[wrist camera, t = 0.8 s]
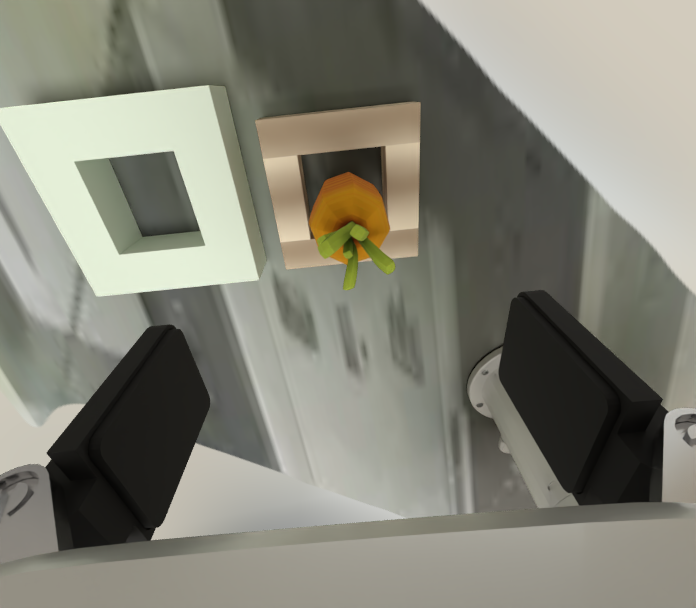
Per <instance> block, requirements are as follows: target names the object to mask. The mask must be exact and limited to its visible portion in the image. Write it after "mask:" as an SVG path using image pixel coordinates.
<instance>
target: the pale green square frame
mask: <svg viewBox="0 0 696 608" xmlns="http://www.w3.org/2000/svg"><path fill="white" fill-rule="evenodd" d="M0 125H1V127H2V129H3V130H4V132H5V134H6V136H7V137H8V139H9V141H10V143H11V145H12V146H13V148H14V150H15V152H16V153H17V155H18V157H19V159H20V161H21V162H22V164H23V166H24V168H25V169H26V171H27V173H28V175H29V177H30V178H31V180H32V182H33V184H34V186H35V187H36V189H37V191H38V193H39V194H40V196H41V198H42V200H43V202H44V203H45V205H46V207H47V209H48V210H49V212H50V214H51V216H52V218H53V219H54V221H55V223H56V225H57V227H58V228H59V230H60V232H61V234H62V235H63V237H64V239H65V241H66V243H67V244H68V246H69V248H70V250H71V251H72V253H73V255H74V257H75V259H76V260H77V262H78V264H79V266H80V268H81V269H82V271H83V273H84V275H85V276H86V278H87V280H88V282H89V284H90V285H91V287H92V289H93V291H94V292H95V294H96V296H97V297H99V296H109V295H118V294H128V293H138V292H148V291H157V290H167V289H177V288H186V287H196V286H206V285H216V284H225V283H235V282H245V281H255V280H259V279H260V277H261V274H262V271H263V269H264V266H265V264H266V261H267V260H266V255H265V251H264V247H263V243H262V239H261V234H260V230H259V226H258V222H257V218H256V214H255V209H254V205H253V201H252V197H251V193H250V188H249V184H248V180H247V176H246V172H245V168H244V163H243V159H242V155H241V151H240V147H239V142H238V138H237V134H236V130H235V126H234V121H233V117H232V113H231V109H230V105H229V101H228V96H227V92H226V88H225V86H213V85H206V86H197V87H188V88H178V89H169V90H160V91H151V92H142V93H133V94H124V95H115V96H106V97H97V98H88V99H78V100H69V101H60V102H51V103H42V104H33V105H24V106H15V107H6V108H0ZM168 151H174V153H175V156H176V159H177V162H178V165H179V168H180V171H181V174H182V177H183V180H184V183H185V186H186V189H187V192H188V195H189V198H190V201H191V204H192V207H193V210H194V213H195V216H196V219H197V222H198V225H199V228H200V231H194V232H185V233H175V234H166V235H156V236H147V237H142V235H141V232H140V230H139V228H138V225H137V223H136V221H135V218H134V216H133V214H132V212H131V209H130V207H129V205H128V202H127V200H126V198H125V195H124V193H123V191H122V188H121V186H120V184H119V181H118V179H117V177H116V174H115V172H114V170H113V168H112V165H111V163H110V161H109V158H112V157H121V156H130V155H140V154H149V153H158V152H168Z"/></svg>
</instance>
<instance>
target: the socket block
mask: <svg viewBox="0 0 696 608" xmlns="http://www.w3.org/2000/svg"><path fill="white" fill-rule="evenodd" d="M420 107H421V102H403V103H394V104H385V105H376V106H366V107H357V108H348V109H339V110H329V111H320V112H311V113H302V114H293V115H283V116H274V117H265V118H260V119H258V120H255V123H256V127H257V132H258V137H259V142H260V147H261V151H262V156H263V161H264V166H265V171H266V175H267V180H268V185H269V190H270V194H271V199H272V204H273V209H274V214H275V218H276V223H277V228H278V233H279V237H280V242H281V247H282V252H283V257H284V261H285V266H286V269H296V268H306V267H315V266H325V265H335V264H344V263H342V262H339V261H337V260H335V259H333V258H330V257H328V258H326V259H324V258H323V257H322V256H321V255H320V253H319V251H318V248H317V247H318V246H317V243H316V241H315V238H314V236H313V233H312V231H311V228H310V226H309V219H310V210H309V204H308V197H307V191H306V184H305V178H304V171H303V165H302V158H301V155H305V154H314V153H324V152H333V151H342V150H352V149H361V148H370V147H380V146H381V166H382V192H383V203H384V207H385V210H386V214H387V218H388V221H389V225H390V231H389V233H388V235H387V236H386V238H385V240H384V241H383V243H382V245H381V247H380V248H379V249H380V250H381V251H382V252H383V253H385V254H386V255H387V256H388V257H390V258H391V259H393V258H403V257H413V256H418V223H419V165H420ZM364 261H373V260H372V259H371V258H368V259H365V260H362V261H358V262H364Z"/></svg>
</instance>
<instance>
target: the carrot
mask: <svg viewBox="0 0 696 608" xmlns="http://www.w3.org/2000/svg"><path fill="white" fill-rule="evenodd" d="M309 226H310V228H311V231H312V233H313V236H314V238H315V241H316V243H317V246H318V247H317V248H318V251H319V253H320V255H321V256H322V257H323V258H324V259H326V258H328V257H330V258H333V259H335V260H337V261H339V262H342V263H344V264H346V265H347V269H346V274H345V279H344V285H343V289H344V290H350V289H352V288H354V286H355V282H356V277H357V269H358V261H362V260H365V259H368V258H371V259H372V260H373V262H374V263H375V264H376V265H377V266H378V267H379V268H380V269H381V270H382V271H383V272H384V273H386V274H387V275H388V274H390V273H392V272H393V271H394V270H395V264H394V261H393V260H392V259H391V258H390V257H388V256H387V255H386V254H385V253H383V252H382V251H381V250H380V249H379V248H380V247H381V245H382V243H383V241H384V240H385V238H386V236H387V235H388V233H389V231H390V225H389V221H388V218H387V214H386V210H385V207H384V203H383V199H382V197H381V195H380V193H379V192H378V190H377V189H376V188H375V186H374V185H373V184H371V183H369V182H367V181H365V180H364V179H362V178H360V177H358V176H356V175H354V174H352V173H350V172H346V173H344V174H341V175H338V176H335V177H332V178H330V179H327V180H326V181H324V184H323V186H322V188H321V190H320V193H319V195H318V197H317V199H316V201H315V204H314V206H313V209H312V212H311V215H310V219H309Z"/></svg>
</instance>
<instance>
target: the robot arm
mask: <svg viewBox="0 0 696 608" xmlns="http://www.w3.org/2000/svg"><path fill="white" fill-rule="evenodd" d="M467 393H468V397H469V399H470V401H471V403H472V405H473V407H474V408H475V409H476V410H477V411H478V412H479V413H481V414H482V415H484V416H487V417H489V418H493V419H494V421H495V423H496V425H497V427H498V429H499V431H500V433H501V435H500V439H499V443H498V447H499V449H500V450H501V451H502V452H504V453H511V455H512V457H513V459H514V461H515V463H516V465H517V467H518V469H519V471H520V473H521V475H522V477H523V479H524V481H525V483H526V485H527V487H528V489H529V491H530V493H531V495H532V497H533V499H534V501H535V503H536V505H537V507H538V508H537V509H524V510H511V511H498V512H485V513H472V514H459V515H446V516H433V517H421V518H408V519H397V520H384V521H372V522H360V523H349V524H348V523H347V524H335V525H323V526H313V527H300V528H288V529H276V530H264V531H254V532H242V533H231V534H219V535H208V536H197V537H185V538H174V539H162V540H152V541H151V538H152V536H153V533H154V531H155V528H156V527H159V526H161V524H162V523H163V521H164V519H165V517H166V514H167V512H168V509H169V507H170V504H171V502H172V499H173V497H174V494H175V492H176V489H177V487H178V484H179V482H180V479H181V477H182V474H183V472H184V470H185V467H186V464H187V462H188V460H189V457H190V455H191V452H192V450H193V447H194V445H195V442H196V440H197V437H198V435H199V432H200V430H201V427H202V425H203V422H204V420H205V417H206V415H207V412H208V410H209V407H210V397H209V394H208V392H207V389H206V387H205V385H204V382H203V380H202V377H201V375H200V373H199V370H198V368H197V366H196V363H195V361H194V358H193V356H192V354H191V351H190V349H189V346H188V344H187V342H186V339H185V337H184V335H183V333H182V331H181V330H180V329H176V328H175V327H174V326H173V325H160V326H151V327H149V328H147V329H146V331H145V332H144V333H143V334H142V336H141V337H140V338H139V339H138V340H137V342H136V343H135V344H134V345H133V347H132V348H131V349H130V350H129V352H128V353H127V354H126V355H125V357H124V358H123V359H122V360H121V361H120V363H119V364H118V365H117V366H116V368H115V369H114V370H113V371H112V373H111V374H110V375H109V376H108V377H107V379H106V380H105V381H104V382H103V384H102V385H101V386H100V387H99V389H98V390H97V391H96V392H95V394H94V395H93V396H92V397H91V398H90V400H89V401H88V402H87V403H86V405H85V406H84V407H83V408H82V410H81V411H80V412H79V413H78V415H77V416H76V417H75V418H74V419H73V421H72V422H71V423H70V424H69V426H68V427H67V428H66V429H65V431H64V432H63V433H62V434H61V435H60V437H59V438H58V439H57V440H56V442H55V443H54V444H53V446H52V447H51V448H50V449H49V450H48V452H47V454H48V456H49V457H50V458H51V459H52V460H51V461H50V462H49V464H48V465H47V466H46V467H44V466H41V465H38V464H28V465H24V466H21V467H17V468H14V469H12V470H10V471H8V472H5V473H3V474H2V475H0V608H696V408H678V409H673V410H672V411H670V412H668V411H667V410H666V409H665V408H664V407H663V406H662V405H661V402H662V400H663V399H662V398H661V397H660V396H659V395H658V394H657V393H656V392H655V391H653V390H652V389H651V388H650V387H649V386H648V385H647V384H646V383H645V382H644V381H643V380H641V379H640V378H639V377H638V376H637V375H636V374H635V373H634V372H633V371H632V370H631V369H629V368H628V367H627V366H626V365H625V364H624V363H623V362H622V361H621V360H620V359H619V358H617V357H616V356H615V355H614V354H613V353H612V352H611V351H610V350H609V349H608V348H607V347H605V346H604V345H603V344H602V343H601V342H600V341H599V340H598V339H597V338H596V337H595V336H593V335H592V334H591V333H590V332H589V331H588V330H587V329H586V328H585V327H584V326H583V325H581V324H580V323H579V322H578V321H577V320H576V319H575V318H574V317H573V316H572V315H571V314H569V313H568V312H567V311H566V310H565V309H564V308H563V307H562V306H561V305H560V304H559V303H557V302H556V301H555V300H554V299H553V298H552V297H551V296H550V295H549V294H548V293H547V292H545V291H544V290H538V291H527V292H521V293H519V295H518V296H517V298H513V300H512V302H511V306H510V311H509V317H508V322H507V327H506V332H505V338H504V343H503V347H501V348H499V349H497V350H495V351H493V352H492V353H490V354H489V355H487V356H486V357H485V358H484V359H483V360H482V361H480V362H479V363H478V365H477V366H476V367H475V368H474V370H473V371H472V373H471V375H470V377H469V380H468V384H467Z"/></svg>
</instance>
